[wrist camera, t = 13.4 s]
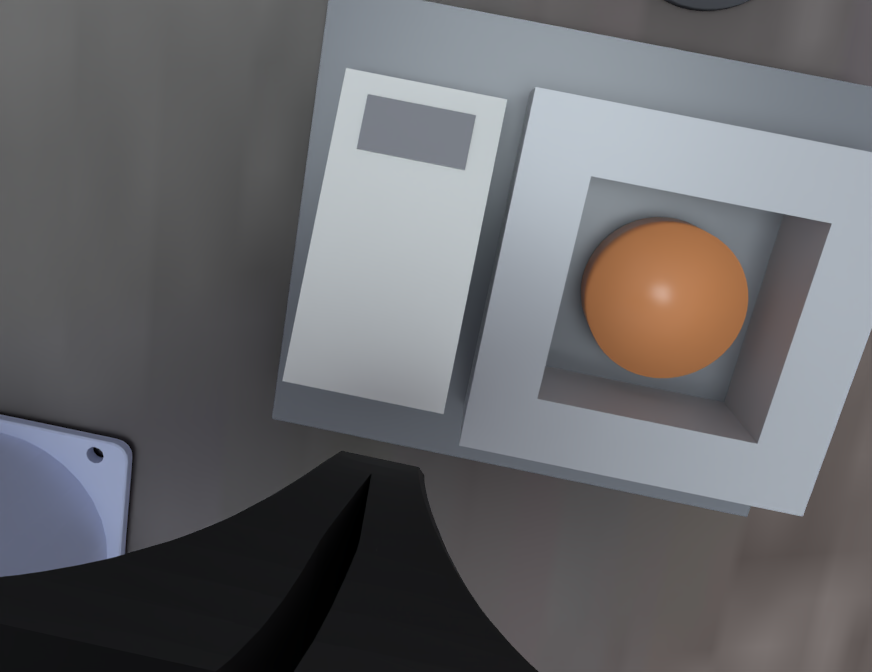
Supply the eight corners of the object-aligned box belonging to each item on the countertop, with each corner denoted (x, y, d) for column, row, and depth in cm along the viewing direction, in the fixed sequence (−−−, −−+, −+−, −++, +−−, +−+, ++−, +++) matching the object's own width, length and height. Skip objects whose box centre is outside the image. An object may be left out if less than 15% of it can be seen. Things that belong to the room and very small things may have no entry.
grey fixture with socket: (291, 393, 22) (240, 459, 18) (347, -4, 19) (302, -41, 15) (725, 482, 22) (782, 572, 18) (853, 93, 19) (960, 85, 15)
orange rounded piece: (565, 344, 19) (571, 361, 18) (600, 203, 18) (608, 210, 17) (706, 372, 19) (722, 392, 18) (749, 232, 18) (769, 242, 17)
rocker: (293, 378, 18) (281, 381, 16) (353, 86, 18) (345, 66, 17) (444, 409, 18) (443, 414, 16) (503, 115, 18) (508, 97, 16)
